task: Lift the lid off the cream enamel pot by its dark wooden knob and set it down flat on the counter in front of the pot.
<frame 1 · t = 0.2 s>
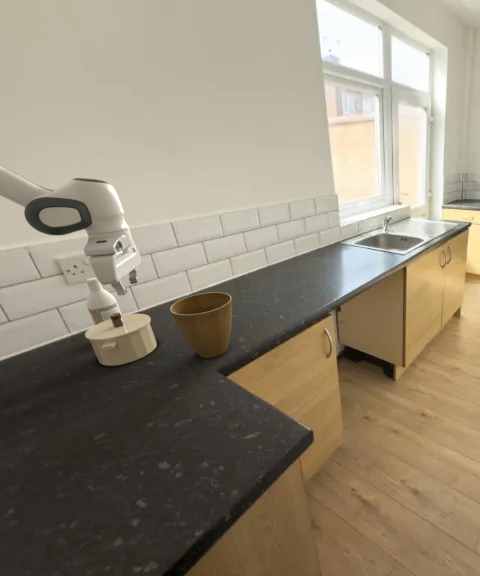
hand: (129, 288, 91), 19 cm above the countertop, tool pointing down, fingers open, 8 cm apart
bath foam: (115, 337, 103), on the countertop
lid: (119, 327, 91), point 8 cm above the countertop, touching pot
pot: (129, 352, 94), on the countertop
plant pot: (215, 352, 93), on the countertop
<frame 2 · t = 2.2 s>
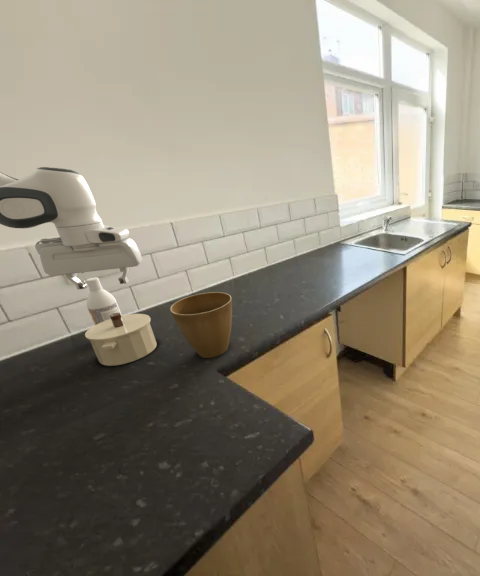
hand: (104, 285, 86), 21 cm above the countertop, tool pointing down, fingers open, 8 cm apart
nothing on the countertop moved.
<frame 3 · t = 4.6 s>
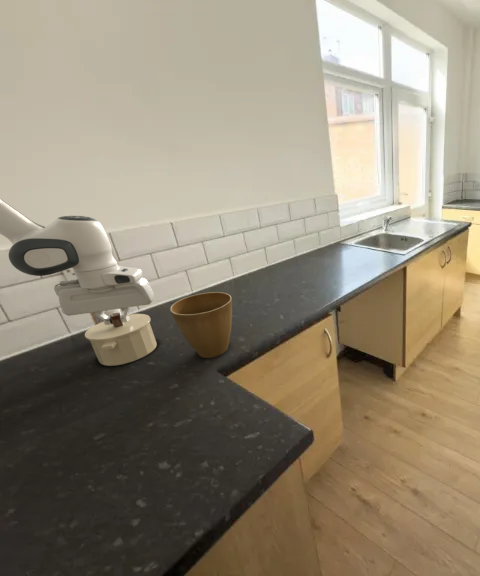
hand: (117, 322, 90), 10 cm above the countertop, tool pointing down, fingers closed on lid, 2 cm apart
lid: (119, 327, 91), point 9 cm above the countertop, touching gripper, pot
everything else where it was.
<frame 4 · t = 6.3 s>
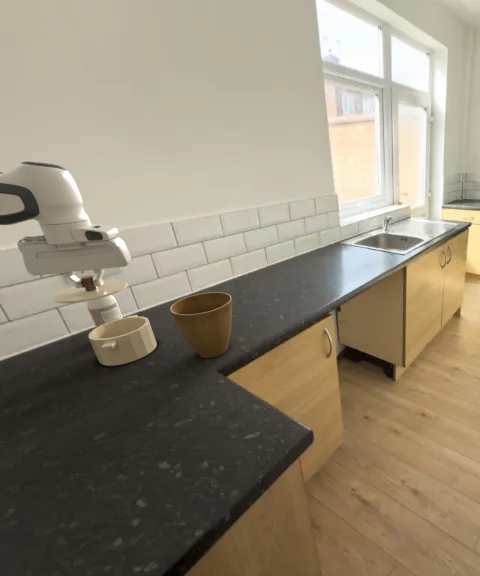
hand: (90, 286, 82), 22 cm above the countertop, tool pointing down, fingers closed on lid, 2 cm apart
lid: (92, 291, 83), point 21 cm above the countertop, touching gripper
everything else where it was.
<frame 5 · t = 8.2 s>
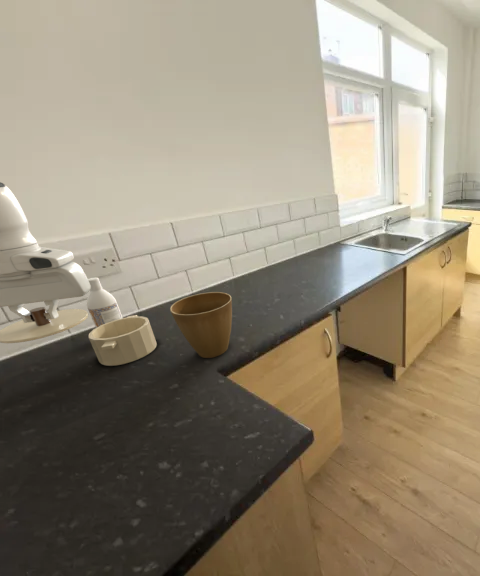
hand: (42, 319, 71), 20 cm above the countertop, tool pointing down, fingers closed on lid, 2 cm apart
lid: (45, 325, 71), point 18 cm above the countertop, touching gripper
everything else where it was.
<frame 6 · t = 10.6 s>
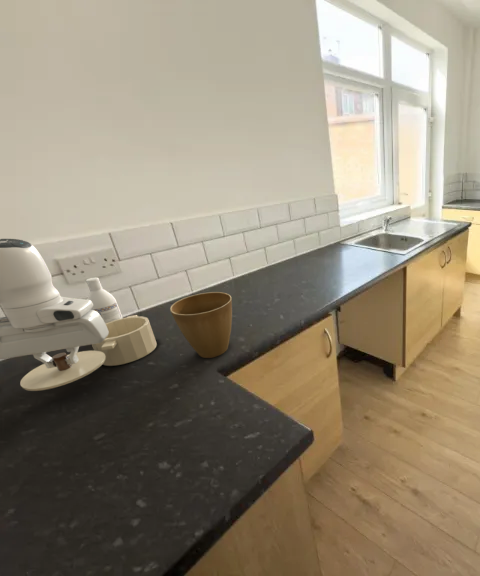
hand: (63, 364, 75), 8 cm above the countertop, tool pointing down, fingers closed on lid, 2 cm apart
lid: (66, 369, 76), point 7 cm above the countertop, touching gripper
everything else where it was.
when the fingers open (2 cm above the countertop, at t = 12.2 s): lid stays where it is, point 1 cm above the countertop.
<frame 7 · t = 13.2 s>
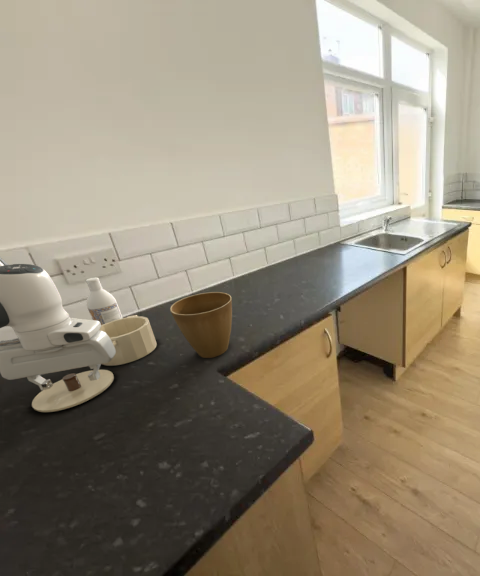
hand: (72, 383, 77), 3 cm above the countertop, tool pointing down, fingers open, 8 cm apart
lid: (75, 390, 78), point 1 cm above the countertop
everything else where it was.
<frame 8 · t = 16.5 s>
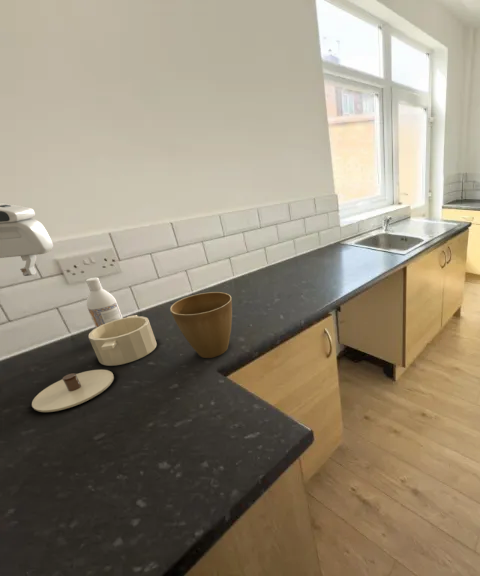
hand: (3, 277, 70), 29 cm above the countertop, tool pointing down, fingers open, 8 cm apart
nothing on the countertop moved.
at the end: lid inside the target area (0.1 cm from its centre), point 0.6 cm above the countertop; lid tilted 0°; the gripper is holding nothing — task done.
